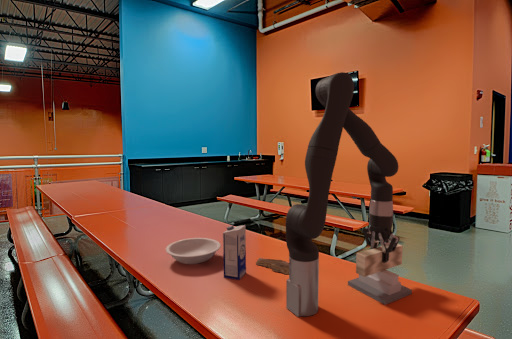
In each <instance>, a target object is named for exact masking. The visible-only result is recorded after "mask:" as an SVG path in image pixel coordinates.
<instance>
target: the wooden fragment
mask: <svg viewBox="0 0 512 339" xmlns="http://www.w3.org/2000/svg"><path fill="white" fill-rule="evenodd" d="M255 264H256V266H261V267H265V268H269V269H271V270H272V271H273V272H277V273H281V274H284V275H287V276H289V261H286V260H282V259H272V258H271V259H270V258H264V257H259V258H258V259H257V260H256V262H255Z"/></svg>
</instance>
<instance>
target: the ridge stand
mask: <svg viewBox="0 0 512 339" xmlns="http://www.w3.org/2000/svg"><path fill="white" fill-rule="evenodd" d="M399 276H400V275H399V274H397V273H395V272H392V271H390V270H389V269H386V270H383V271H380V272H377V273H374V274H372V275H369V276H366V277H364V276H361V275H359V274H358V277H356V278H353V279H350V280H348V281H347V286H348V287H351V288H353V289H355V290H356V291H359V292H360V293H362V294H363V295H366V296H368V297H369V298H372V299H373V300H375V301H376V302H379V303H381V304H382V305H384V306H386V305H388V304H390V303H393V302H396V301H398V300H401V299H402V298H405V297H407V296H410V295H412V292H413V289H412V288H409V287H406V286H405V285H402V282H401V281H399Z"/></svg>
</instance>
